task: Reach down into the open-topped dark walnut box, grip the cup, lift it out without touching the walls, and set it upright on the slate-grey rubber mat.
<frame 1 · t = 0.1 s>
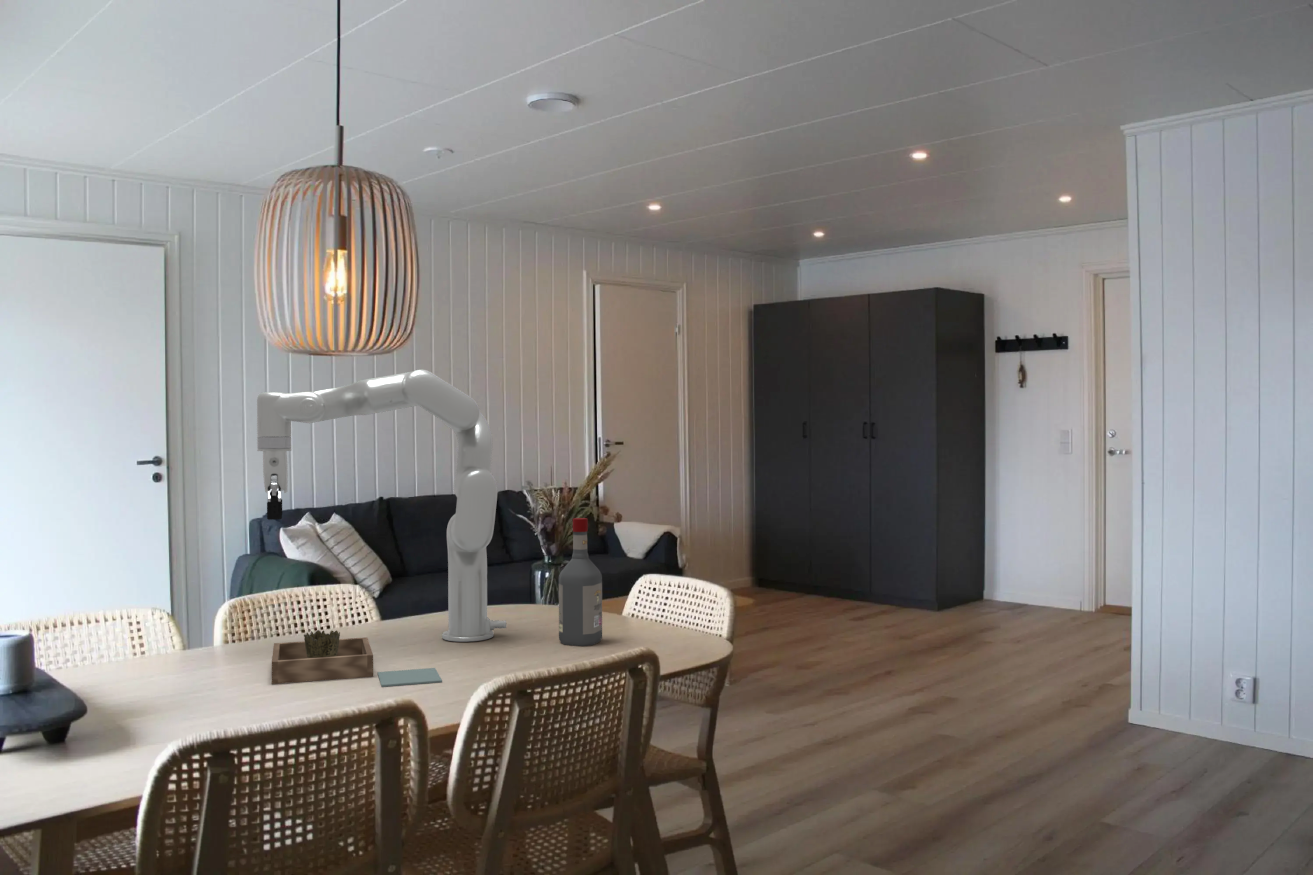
hand: (274, 517, 248), 31 cm above the table, fingers open, 9 cm apart
liquor: (580, 642, 256), on the table
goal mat: (409, 677, 220), on the table
walnut box: (322, 669, 227), on the table
cup: (322, 670, 227), resting in walnut box
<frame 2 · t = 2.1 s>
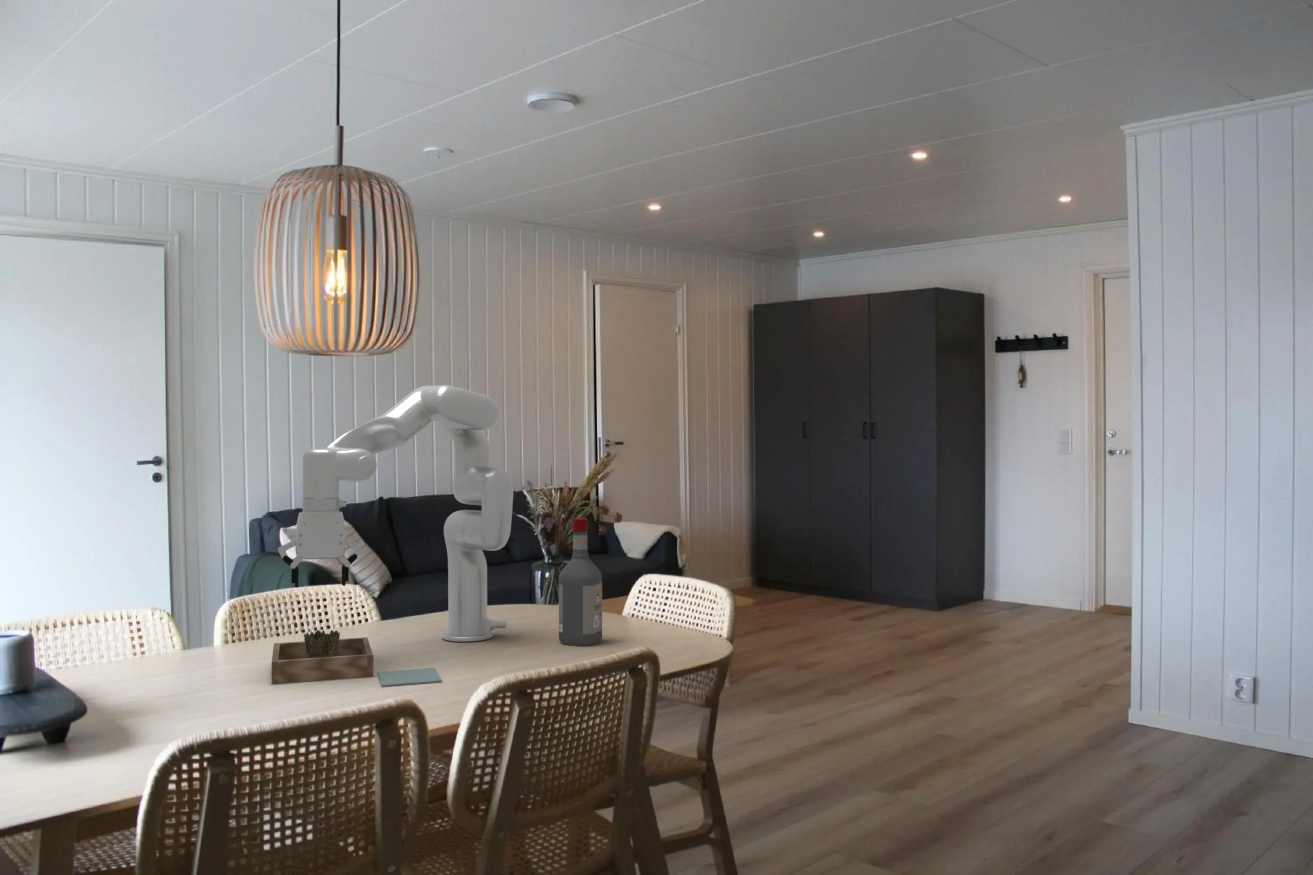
hand: (320, 585, 227), 18 cm above the table, fingers open, 9 cm apart
nothing on the table moved.
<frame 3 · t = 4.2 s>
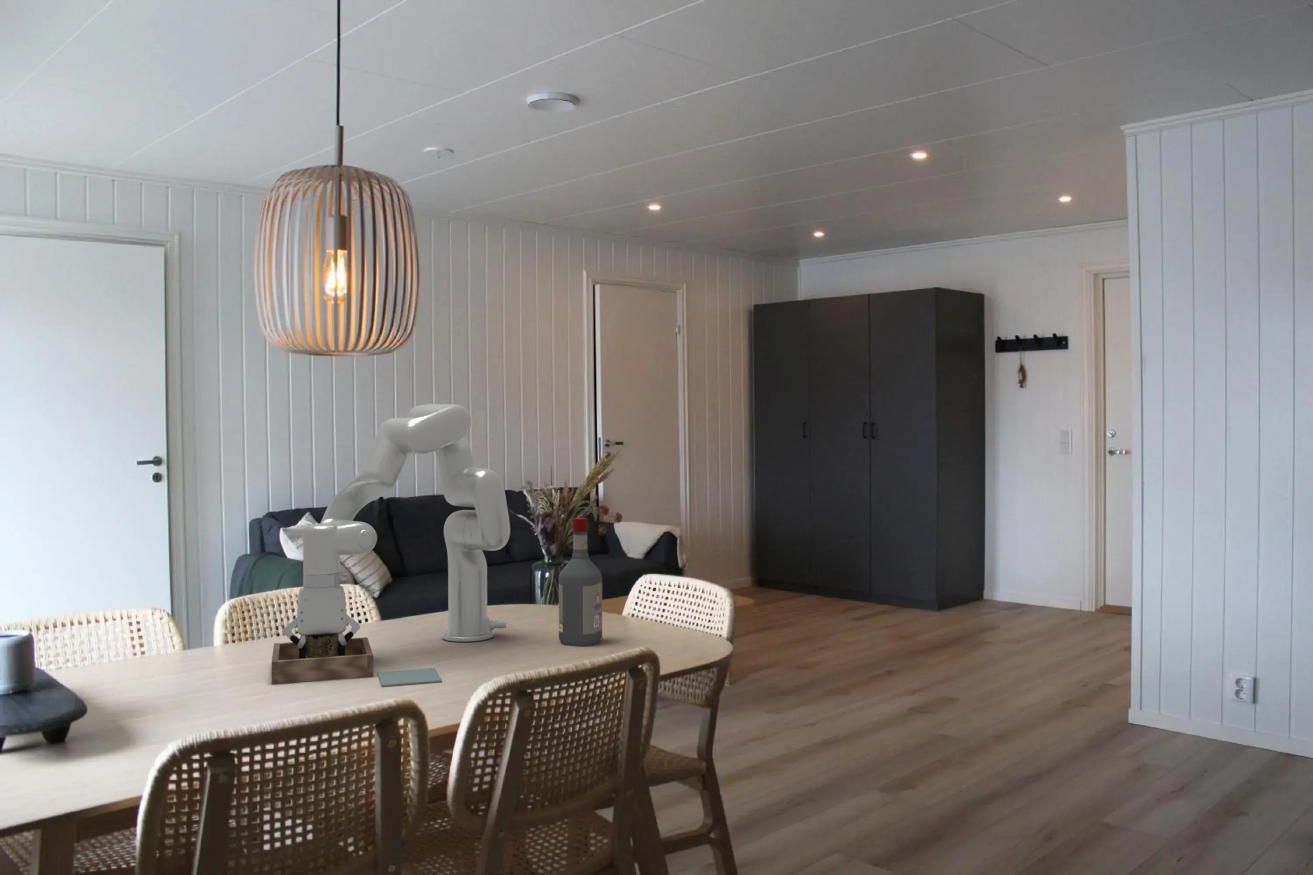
hand: (322, 663, 227), 1 cm above the table, fingers closed on cup, 6 cm apart
cup: (322, 670, 227), resting in walnut box, touching gripper
everything else where it was.
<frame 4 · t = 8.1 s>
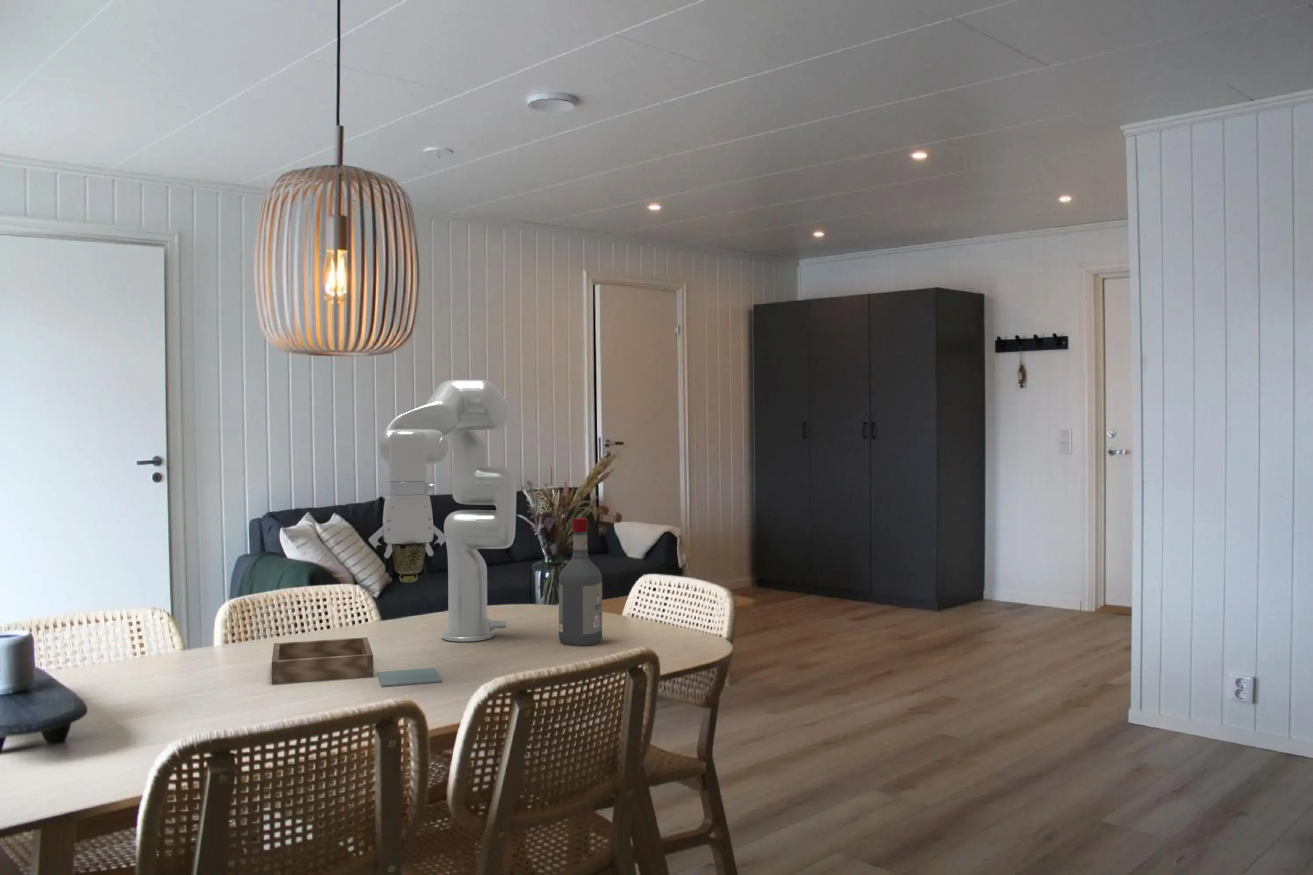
hand: (408, 574, 220), 21 cm above the table, fingers closed on cup, 6 cm apart
cup: (408, 582, 220), point 20 cm above the table, touching gripper
everything else where it was.
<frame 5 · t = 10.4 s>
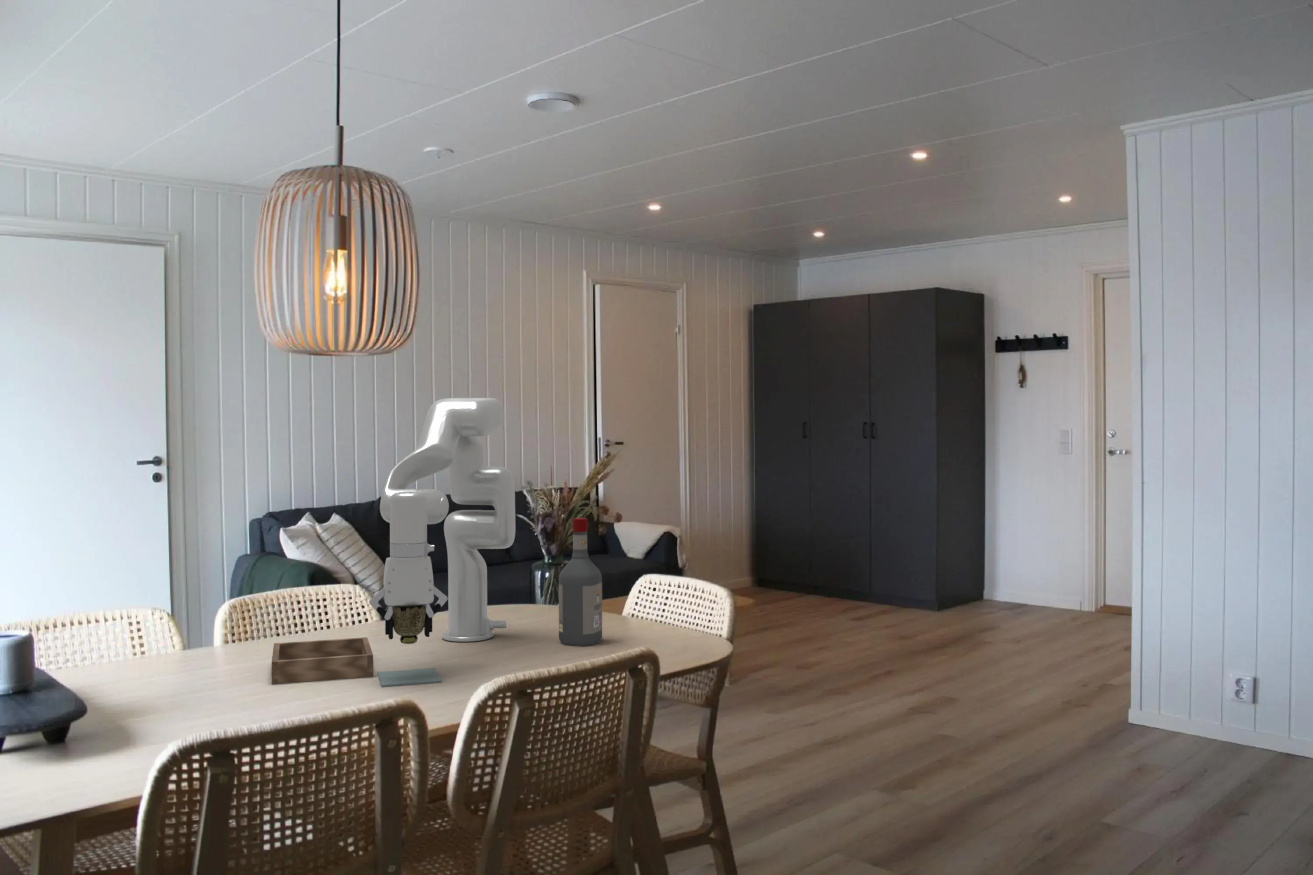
hand: (408, 636, 219), 9 cm above the table, fingers closed on cup, 6 cm apart
cup: (408, 643, 219), point 7 cm above the table, touching gripper
everything else where it was.
when the fingers open (3 cm above the table, at t = 12.1 s): cup drops 1 cm, resting on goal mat.
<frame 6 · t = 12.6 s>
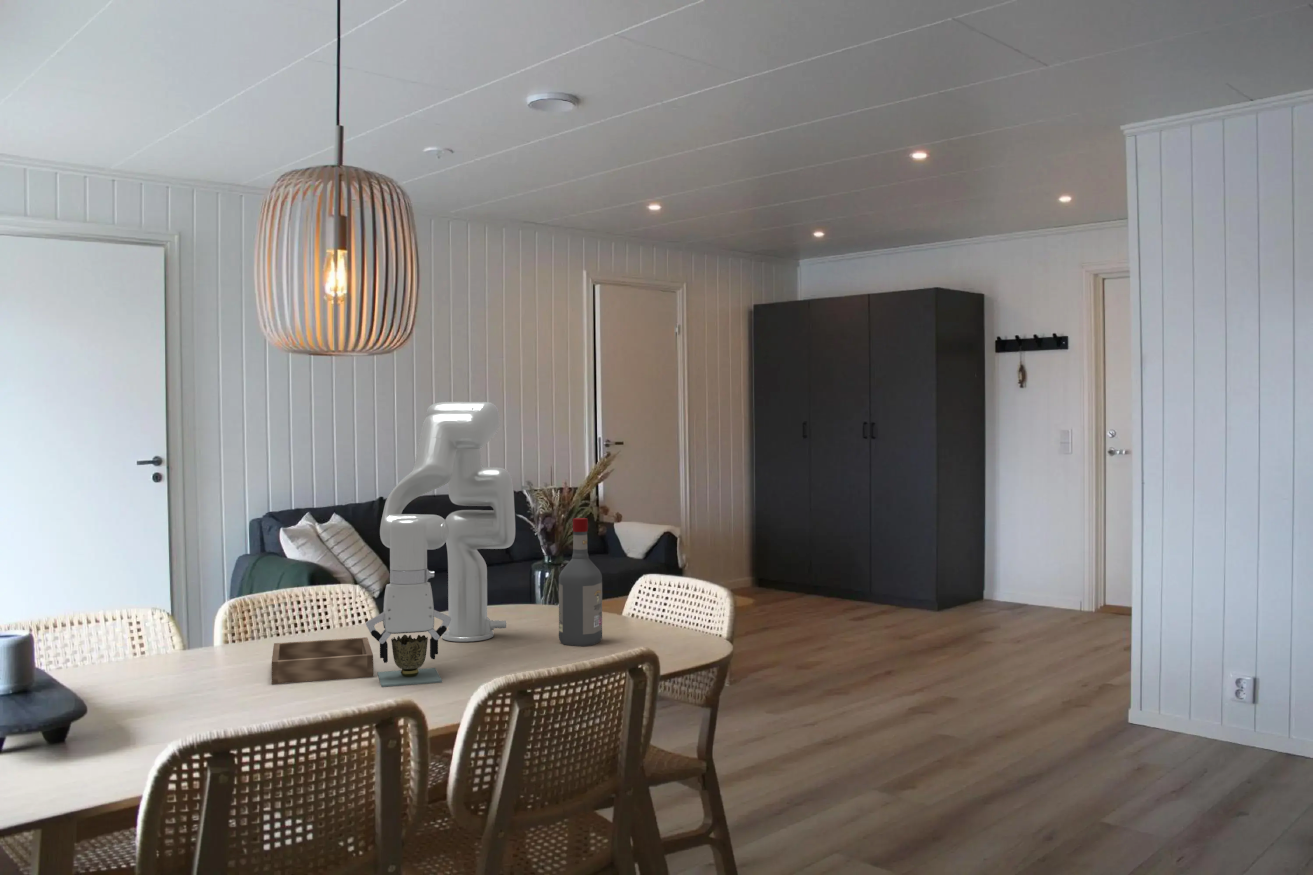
hand: (409, 659, 220), 4 cm above the table, fingers open, 9 cm apart
cup: (409, 676, 220), resting on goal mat
everything else where it was.
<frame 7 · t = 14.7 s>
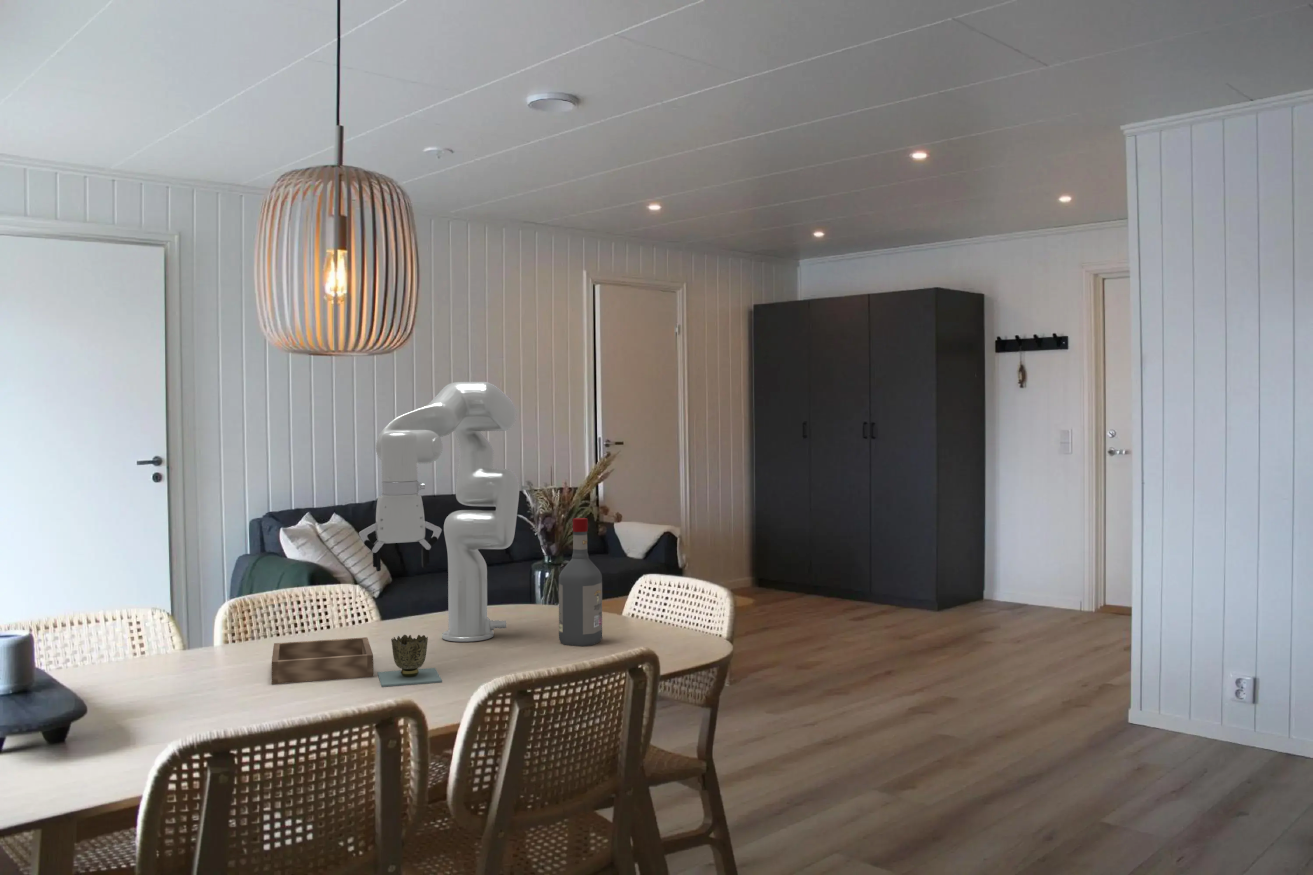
hand: (401, 568, 226), 22 cm above the table, fingers open, 9 cm apart
nothing on the table moved.
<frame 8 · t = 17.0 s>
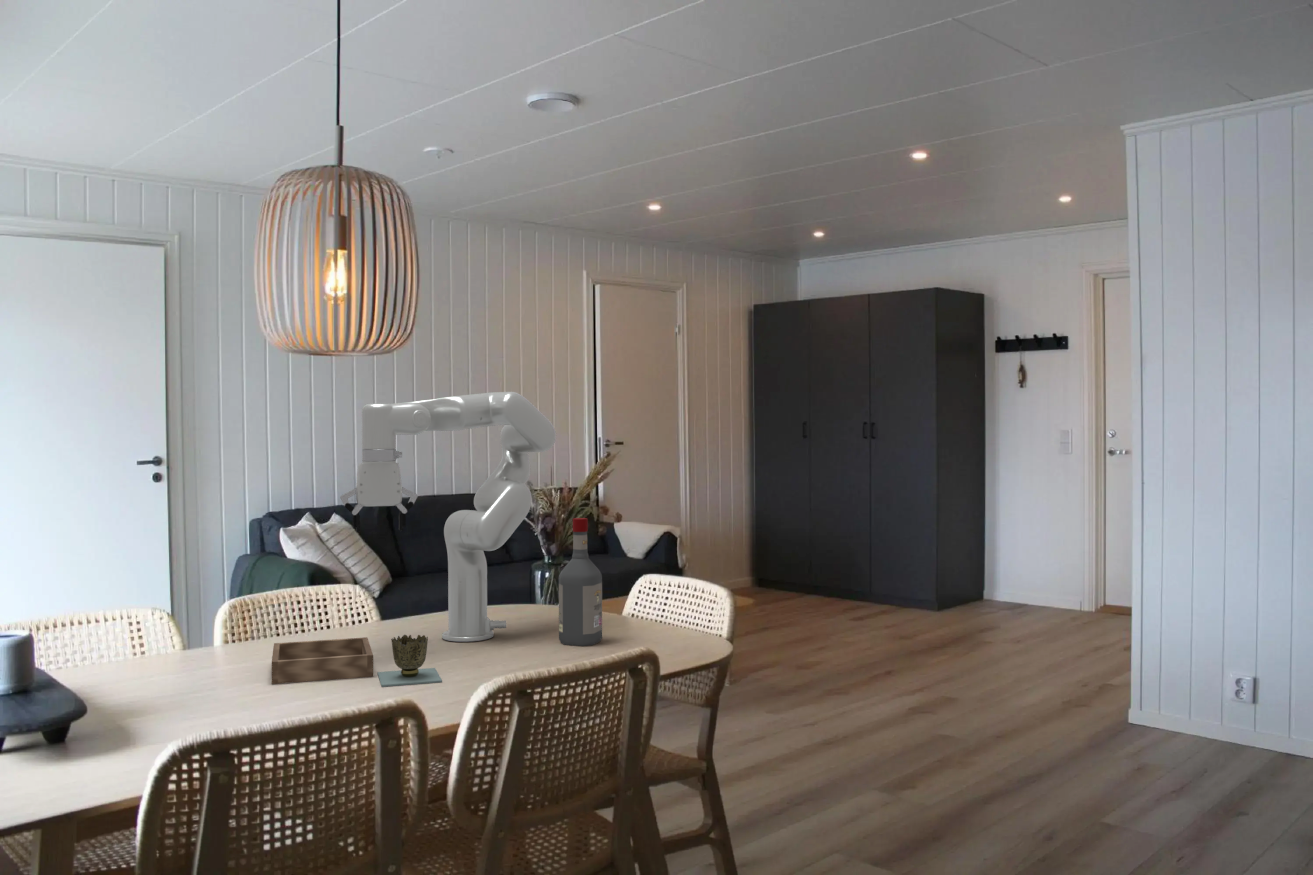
hand: (379, 531, 244), 28 cm above the table, fingers open, 9 cm apart
nothing on the table moved.
at the end: cup inside the target area on the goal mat (0.3 cm from its centre), point 0.2 cm above the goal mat's base; cup tilted 0°; walnut box moved 0.0 cm from its start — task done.
